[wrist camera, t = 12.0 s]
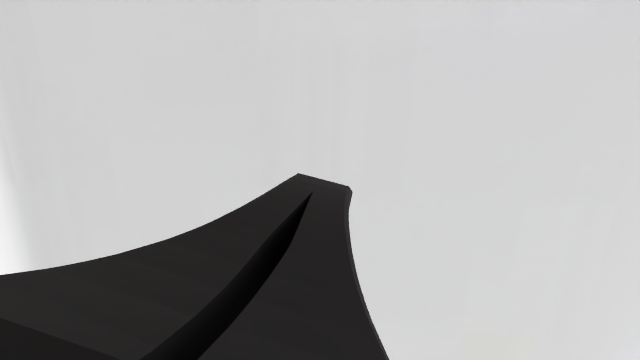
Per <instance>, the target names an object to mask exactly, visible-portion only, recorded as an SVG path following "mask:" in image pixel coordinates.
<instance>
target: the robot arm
mask: <svg viewBox="0 0 640 360" xmlns="http://www.w3.org/2000/svg"><path fill="white" fill-rule="evenodd" d="M351 197H352V191H351V189H350V187H349V186H345V185H341V184H338V183H334V182H330V181H326V180H322V179H318V178H315V177H311V176H307V175H303V174H299V173H298V174H296V175H295V176H293V177H291V178H289V179H288V180H286V181H284V182H283V183H281V184H279V185H278V186H276V187H275V188H273V189H271V190H270V191H268V192H266V193H265V194H263V195H261V196H260V197H258V198H256V199H254V200H252V201H251V202H249V203H247V204H245V205H244V206H242V207H240V208H238V209H236V210H234V211H232V212H230V213H228V214H226V215H224V216H222V217H220V218H218V219H216V220H214V221H212V222H210V223H207V224H205V225H203V226H201V227H198V228H196V229H193V230H191V231H188V232H186V233H183V234H180V235H178V236H175V237H172V238H169V239H166V240H164V241H160V242H157V243H154V244H150V245H147V246H144V247H140V248H137V249H133V250H130V251H127V252H123V253H120V254H116V255H112V256H107V257H103V258H99V259H94V260H90V261H85V262H80V263H75V264H70V265H65V266H60V267H54V268H48V269H42V270H35V271H27V272H20V273H13V274H6V275H0V360H389V358H388V356H387V354H386V352H385V349H384V347H383V345H382V343H381V340H380V338H379V336H378V334H377V331H376V329H375V327H374V325H373V323H372V320H371V317H370V315H369V312H368V309H367V306H366V303H365V301H364V297H363V294H362V291H361V288H360V284H359V281H358V277H357V273H356V269H355V264H354V259H353V254H352V248H351V241H350V232H349V206H350V202H351Z"/></svg>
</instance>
